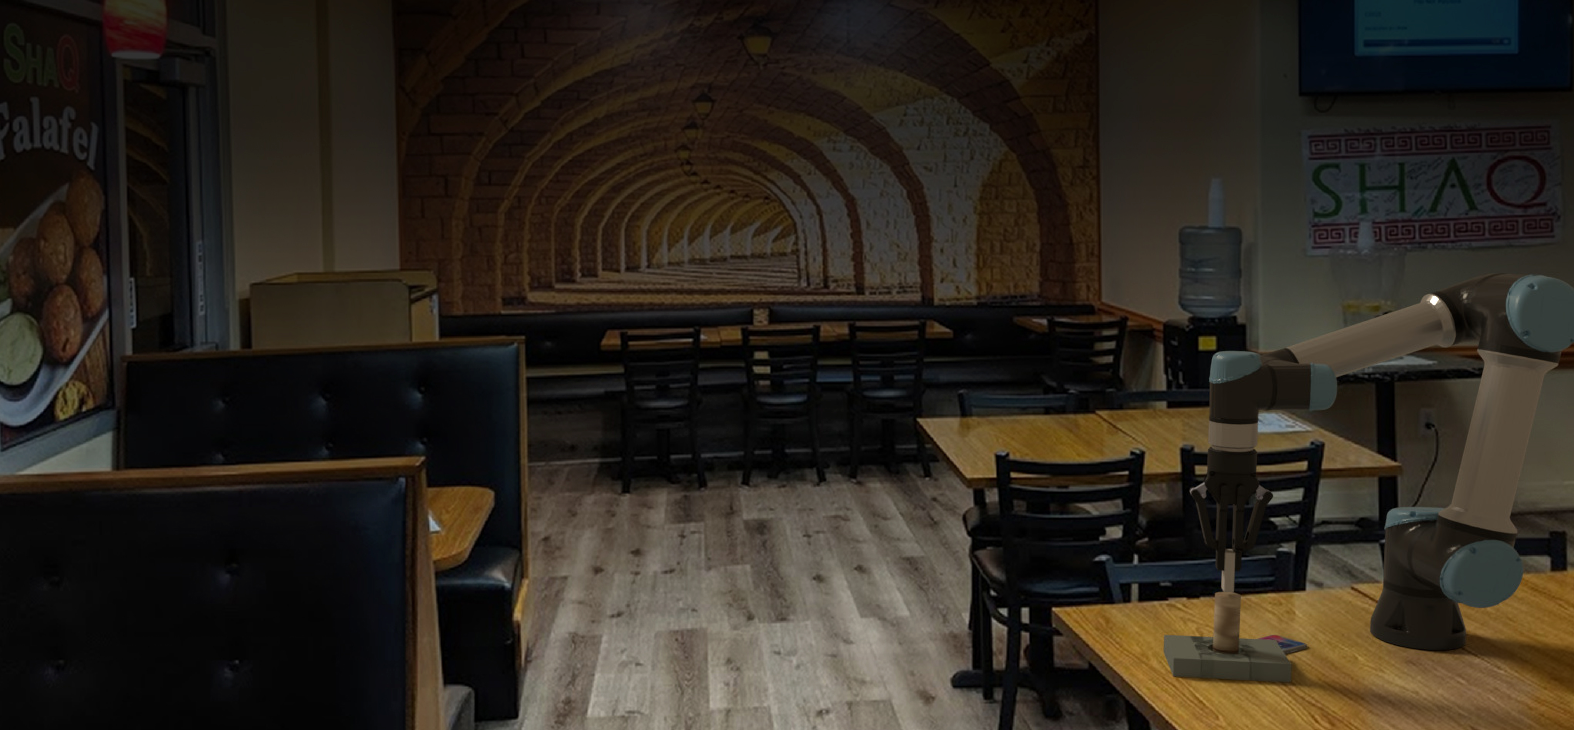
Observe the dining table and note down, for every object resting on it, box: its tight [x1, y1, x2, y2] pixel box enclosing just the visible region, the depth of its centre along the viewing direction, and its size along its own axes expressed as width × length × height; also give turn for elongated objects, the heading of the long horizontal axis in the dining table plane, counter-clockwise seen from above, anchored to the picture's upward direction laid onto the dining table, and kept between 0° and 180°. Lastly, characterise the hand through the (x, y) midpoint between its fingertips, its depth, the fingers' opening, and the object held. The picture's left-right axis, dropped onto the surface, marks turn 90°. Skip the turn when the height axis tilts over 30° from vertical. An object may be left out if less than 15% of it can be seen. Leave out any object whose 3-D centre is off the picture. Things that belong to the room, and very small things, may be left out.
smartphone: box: [1257, 634, 1308, 655], centre depth 217 cm, size 7×1×15 cm
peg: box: [1212, 591, 1242, 655], centre depth 208 cm, size 4×4×12 cm
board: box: [1163, 634, 1292, 683], centre depth 209 cm, size 18×12×3 cm, turn 81°
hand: (1227, 589), depth 208 cm, fingers closed
